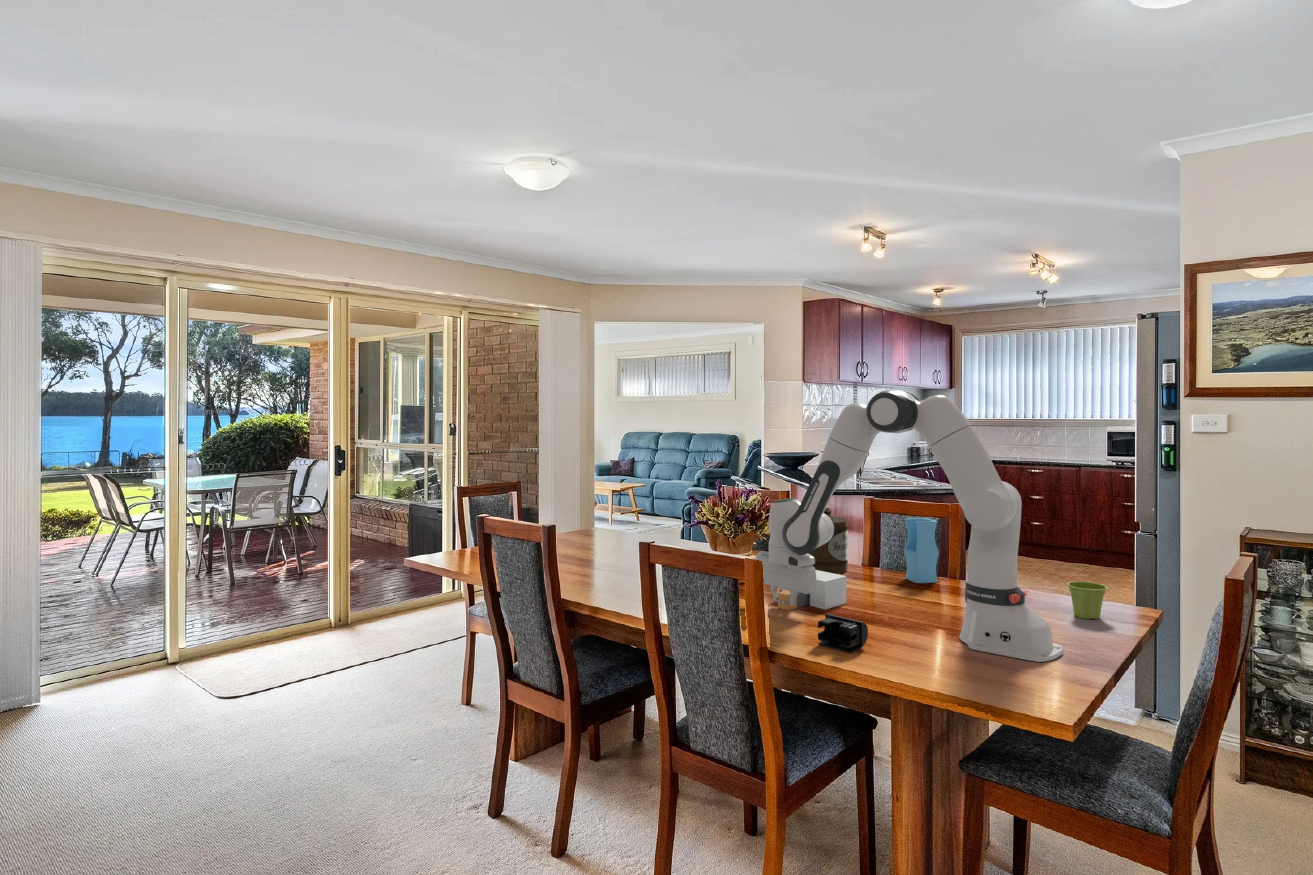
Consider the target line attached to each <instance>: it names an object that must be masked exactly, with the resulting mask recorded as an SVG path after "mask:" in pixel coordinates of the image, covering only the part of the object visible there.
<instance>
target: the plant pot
mask: <svg viewBox="0 0 1313 875" xmlns="http://www.w3.org/2000/svg"><path fill="white" fill-rule="evenodd" d="M1067 586H1068V588H1069V592H1070V595H1071V596H1070V597H1071V601H1072V602H1071V603H1072V609H1073V610H1072V611H1073V616H1076V617H1077V618H1080V619H1084V620H1091V619H1094V620H1099V619H1100V618H1101V612H1102V605H1103V601H1104V595H1105V593H1106V591H1107V590H1108V587H1107V586H1106V585H1104V584H1101V583H1098V582H1097V583H1096V582H1091V581H1090V582H1089V581H1071V582H1070V581H1069V582H1067Z"/></svg>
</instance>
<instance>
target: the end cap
mask: <svg viewBox="0 0 1313 875" xmlns="http://www.w3.org/2000/svg"><path fill="white" fill-rule="evenodd" d="M817 628H818V629H820V628H824V629H823V630H822V631H819V632H818V633H817V640H818V641H819V642H818V646H820V647H823V648H828V649H831V650H836V651H839V652H843V653H846V654H855V653H856V652H858V651H860V650H861V649H862V648H864V646H865V645H866V643H867V641H868V636H869V629H868V625H867V624H866V623H865V622H864V621H860V620H856V619H851V618H847V617H843V616H839V615H834V614H830V613H826V614H825V615H824V619H820V620H818V621H817Z"/></svg>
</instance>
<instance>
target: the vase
mask: <svg viewBox="0 0 1313 875" xmlns="http://www.w3.org/2000/svg"><path fill="white" fill-rule="evenodd" d="M904 522H905V525H906V528H907V530H906V531H907V540H906V543H905V545H904V548H903V552H904V557H905V561H906V574H905V579H906V580H907V581H908V580H909V581H910V582H912V583H915V584H928V583H929V584H930V583H931V584H932V583H939V579H938V576H937V563H938V559H939V555H940V553H939V548H938V546H937V543H936V537H935V536H936V534H935V533H936V528H937V524H938V521H937V520H934V519H931V518H926V517H919V518H918V517H917V518H914V517H913V518H904Z"/></svg>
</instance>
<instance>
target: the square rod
mask: <svg viewBox="0 0 1313 875" xmlns="http://www.w3.org/2000/svg"><path fill="white" fill-rule="evenodd" d="M790 596H791V594H790V591H783V592H782V591H778V602H777V608H778V609H780V610H785V611H792V610H795V609H798V608H800V607H804V606H807V605H810V594H804V593H800V592H798V595H797V597H796V598H795V605H793V606H790V605H787V599H788V598H790Z"/></svg>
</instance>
